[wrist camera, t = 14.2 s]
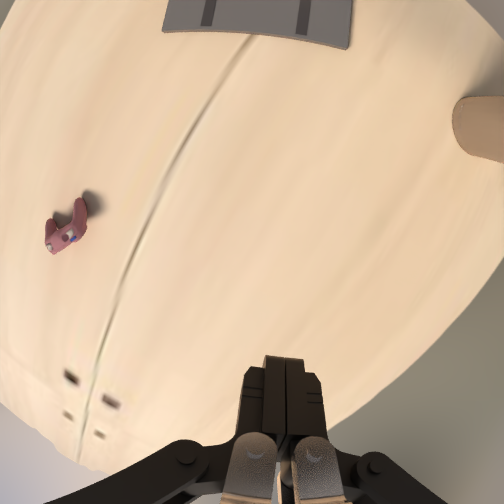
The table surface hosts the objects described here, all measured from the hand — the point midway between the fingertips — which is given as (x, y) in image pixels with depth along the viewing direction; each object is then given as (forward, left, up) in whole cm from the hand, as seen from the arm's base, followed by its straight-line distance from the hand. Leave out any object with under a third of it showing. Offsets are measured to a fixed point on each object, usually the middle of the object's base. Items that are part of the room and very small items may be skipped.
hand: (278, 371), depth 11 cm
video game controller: (+32, +8, -29) cm, 44 cm away
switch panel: (+6, -31, -29) cm, 43 cm away
